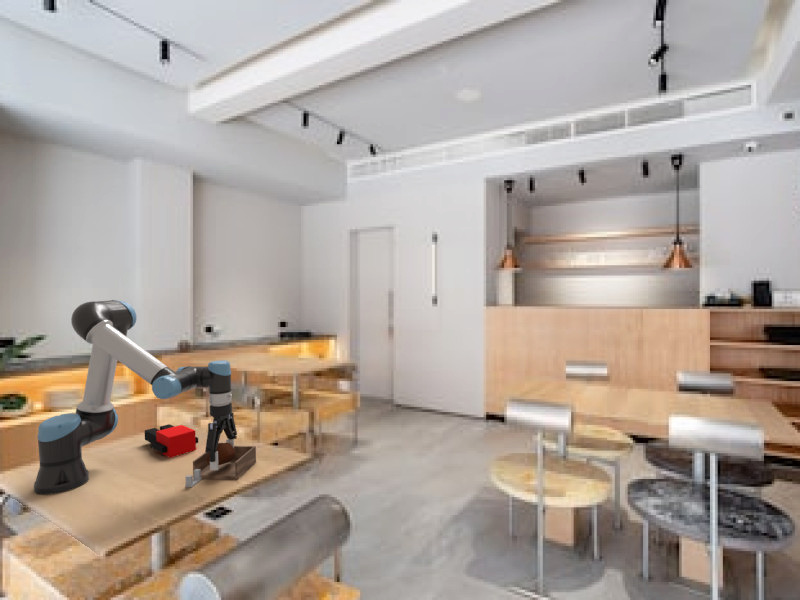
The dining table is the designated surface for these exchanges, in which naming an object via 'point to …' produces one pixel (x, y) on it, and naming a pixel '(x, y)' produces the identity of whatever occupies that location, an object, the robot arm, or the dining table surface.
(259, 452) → the dining table surface
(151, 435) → the red-and-black block model
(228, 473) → the holder
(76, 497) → the dining table surface
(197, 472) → the clip
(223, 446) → the potato
